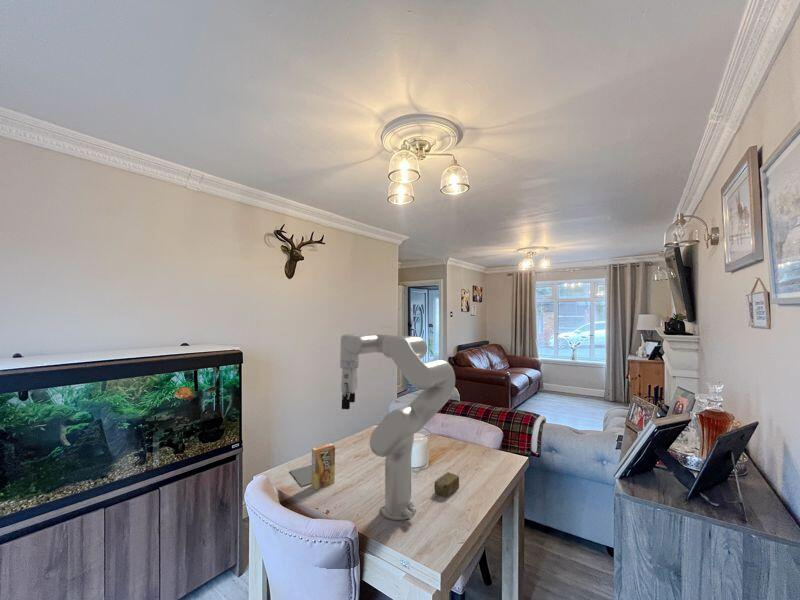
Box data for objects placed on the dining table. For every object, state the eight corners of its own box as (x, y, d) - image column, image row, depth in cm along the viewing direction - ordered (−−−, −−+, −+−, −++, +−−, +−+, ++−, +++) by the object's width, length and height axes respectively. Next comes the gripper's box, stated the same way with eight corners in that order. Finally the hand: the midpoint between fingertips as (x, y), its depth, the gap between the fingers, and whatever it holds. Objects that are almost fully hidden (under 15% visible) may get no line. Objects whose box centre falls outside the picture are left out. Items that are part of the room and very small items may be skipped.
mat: (333, 477, 145) (333, 476, 145) (301, 486, 137) (301, 485, 137) (319, 463, 158) (319, 462, 158) (289, 471, 150) (289, 470, 150)
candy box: (330, 478, 143) (330, 442, 144) (335, 482, 140) (335, 445, 141) (310, 485, 138) (311, 448, 138) (315, 489, 134) (315, 451, 135)
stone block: (433, 494, 132) (433, 481, 132) (447, 482, 141) (447, 470, 141) (446, 499, 128) (446, 485, 128) (460, 487, 137) (460, 474, 137)
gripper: (353, 368, 130) (352, 412, 130) (362, 361, 147) (361, 400, 147) (334, 367, 130) (333, 411, 130) (345, 360, 148) (344, 399, 147)
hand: (348, 405), depth 138 cm, fingers open, 9 cm apart
